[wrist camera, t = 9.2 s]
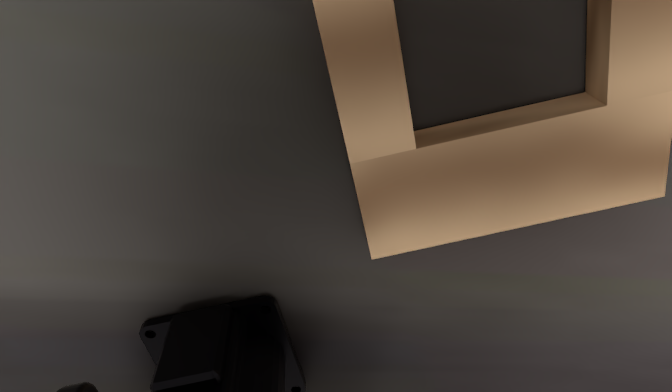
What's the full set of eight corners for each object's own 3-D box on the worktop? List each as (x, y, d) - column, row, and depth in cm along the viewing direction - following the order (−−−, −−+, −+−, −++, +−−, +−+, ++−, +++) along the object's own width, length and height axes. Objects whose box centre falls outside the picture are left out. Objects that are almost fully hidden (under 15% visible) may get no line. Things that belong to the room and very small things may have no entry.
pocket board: (641, 178, 22) (664, 196, 20) (367, 238, 22) (371, 259, 21) (685, -323, 14) (727, -349, 13) (264, -211, 15) (260, -224, 13)
